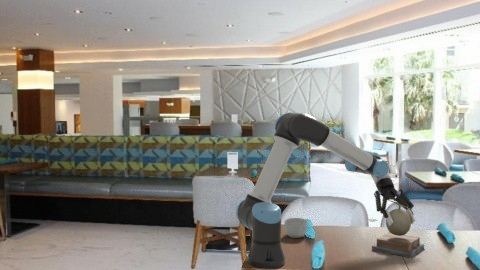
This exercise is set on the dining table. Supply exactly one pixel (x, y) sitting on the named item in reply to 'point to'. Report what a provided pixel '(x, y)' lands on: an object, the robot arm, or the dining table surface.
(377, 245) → the stand
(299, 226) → the teacup
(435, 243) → the dining table surface
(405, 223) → the fruit
